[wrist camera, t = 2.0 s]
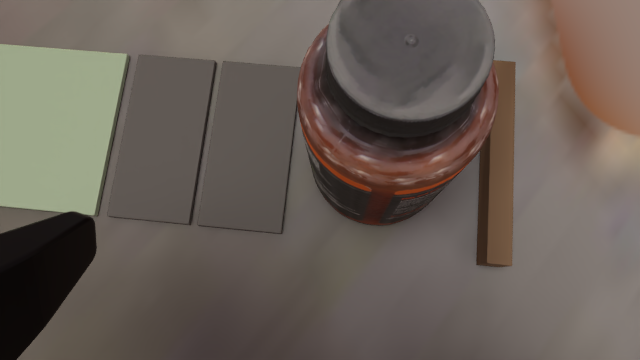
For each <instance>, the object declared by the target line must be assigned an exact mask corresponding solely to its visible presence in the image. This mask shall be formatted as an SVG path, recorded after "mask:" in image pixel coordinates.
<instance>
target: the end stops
mask: <svg viewBox="0 0 640 360" xmlns="http://www.w3.org/2000/svg"><path fill="white" fill-rule="evenodd" d="M493 63H494V66H495V70H496V74H497V78H498V87H499V96H498V108H497V112H496V117H495V121H494V124H493V127H492V130H491V132H490V134H489V136H488V138H487V139H486V141H485V143H484V145H483V146H482V148H481V149H480V174H479V205H478V236H477V265H484V266H494V267H505V266H512V234H513V175H514V116H515V62H508V61H495V60H493Z"/></svg>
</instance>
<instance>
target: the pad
mask: <svg viewBox="0 0 640 360" xmlns="http://www.w3.org/2000/svg"><path fill="white" fill-rule="evenodd" d="M129 58H130V57H129V56H128V55H127V54H119V53H106V52H94V51H81V50H68V49H56V48H43V47H30V46H18V45H5V44H0V207H10V208H21V209H31V210H41V211H51V212H61V213H66V212H70V211H76V212H79V213H81V214H84V215H91V216H98V211H99V206H100V201H101V196H102V191H103V186H104V181H105V177H106V172H107V167H108V162H109V157H110V152H111V147H112V142H113V137H114V132H115V127H116V122H117V117H118V112H119V108H120V103H121V98H122V93H123V88H124V83H125V78H126V73H127V68H128V63H129Z"/></svg>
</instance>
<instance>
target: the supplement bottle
mask: <svg viewBox="0 0 640 360" xmlns="http://www.w3.org/2000/svg"><path fill="white" fill-rule="evenodd" d="M494 51H495V39H494V31H493V28H492V24H491V22H490V19H489V17H488V15H487V13H486V10H485V8H484V7H483V6H482V5H481V3H480V2H479V0H341V1H340V2H339V4H338V6H337V8H336V10H335V11H334V13H333V15H332V17H331V20H330V22H329V24H328V25H327V26H326V27H325V28H324V29H322V31H321V32H320V33H319V35H318V36H317V37H316V38H315V40H314V41H313V43H312V45H311V46H310V47H309V48H308V50H307V53H306V55H305V57H304V60H303V63H302V66H301V69H300V73H299V78H298V87H297V105H298V112H299V117H300V122H301V126H302V132H303V137H304V140H305V144H306V148H307V152H308V155H309V160H310V164H311V168H312V172H313V176H314V178H315V181H316V184H317V186H318V188H319V190H320V192H321V193H322V195H323V196H324V198H325V199H326V200H327V201H328V202H329V203H330V205H331V206H332V207H333V208H335V209H336V210H337V211H338V212H339V213H341V214H342V215H344V216H346V217H348V218H350V219H352V220H355V221H357V222H361V223H365V224H372V225H388V224H393V223H396V222H400V221H402V220H405V219H407V218H409V217H411V216H413V215H415V214H416V213H418V212H419V211H421V210H422V209H423V208H424V207H426V206H427V205H428V204H429V203H430V202H431V201H432V200H433V199H434V198H435V197H436V196H437V195H438V194H439V193H440V192H441V191H442V190H443V189H444V188H445V187H446V186H447V185H448V184H449V183H450V182H451V181H452V180H453V179H454V178H455V177H456V176H457V175H458V174H459V173H460V172H461V171H462V170H463V169H464V168H465V166H466V165H467V164H468V163H469V162H470V161H471V160H472V159H473V158H474V157H475V156H476V155H477V153H478V152H479V151H480V149H481V148H482V146H483V145H484V143H485V141H486V139H487V138H488V136H489V134H490V132H491V130H492V127H493V124H494V121H495V117H496V112H497V108H498V96H499V87H498V78H497V74H496V70H495V66H494V63H493V59H494Z"/></svg>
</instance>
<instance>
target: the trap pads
mask: <svg viewBox="0 0 640 360" xmlns="http://www.w3.org/2000/svg"><path fill="white" fill-rule="evenodd" d="M215 69H216V62H215V61H214V60H201V59H189V58H176V57H163V56H151V55H139V56H138V61H137V66H136V71H135V76H134V81H133V86H132V91H131V96H130V101H129V106H128V111H127V116H126V121H125V126H124V131H123V136H122V141H121V146H120V151H119V156H118V162H117V167H116V172H115V177H114V182H113V187H112V192H111V197H110V202H109V207H108V212H107V216H109V217H117V218H127V219H137V220H147V221H157V222H167V223H177V224H187V225H191V218H192V212H193V206H194V200H195V194H196V187H197V181H198V175H199V169H200V162H201V156H202V150H203V144H204V138H205V131H206V125H207V119H208V113H209V106H210V100H211V94H212V88H213V82H214V75H215ZM300 69H301V67H290V66H277V65H265V64H252V63H239V62H227V61H223V64H222V71H221V77H220V83H219V90H218V96H217V102H216V109H215V115H214V121H213V128H212V134H211V140H210V147H209V153H208V159H207V166H206V172H205V178H204V185H203V191H202V197H201V204H200V210H199V216H198V223H197V225H199V226H207V227H218V228H228V229H238V230H248V231H258V232H268V233H278V234H282V226H283V218H284V209H285V201H286V193H287V184H288V176H289V168H290V159H291V151H292V143H293V134H294V126H295V117H296V109H297V87H298V78H299V73H300Z"/></svg>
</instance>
